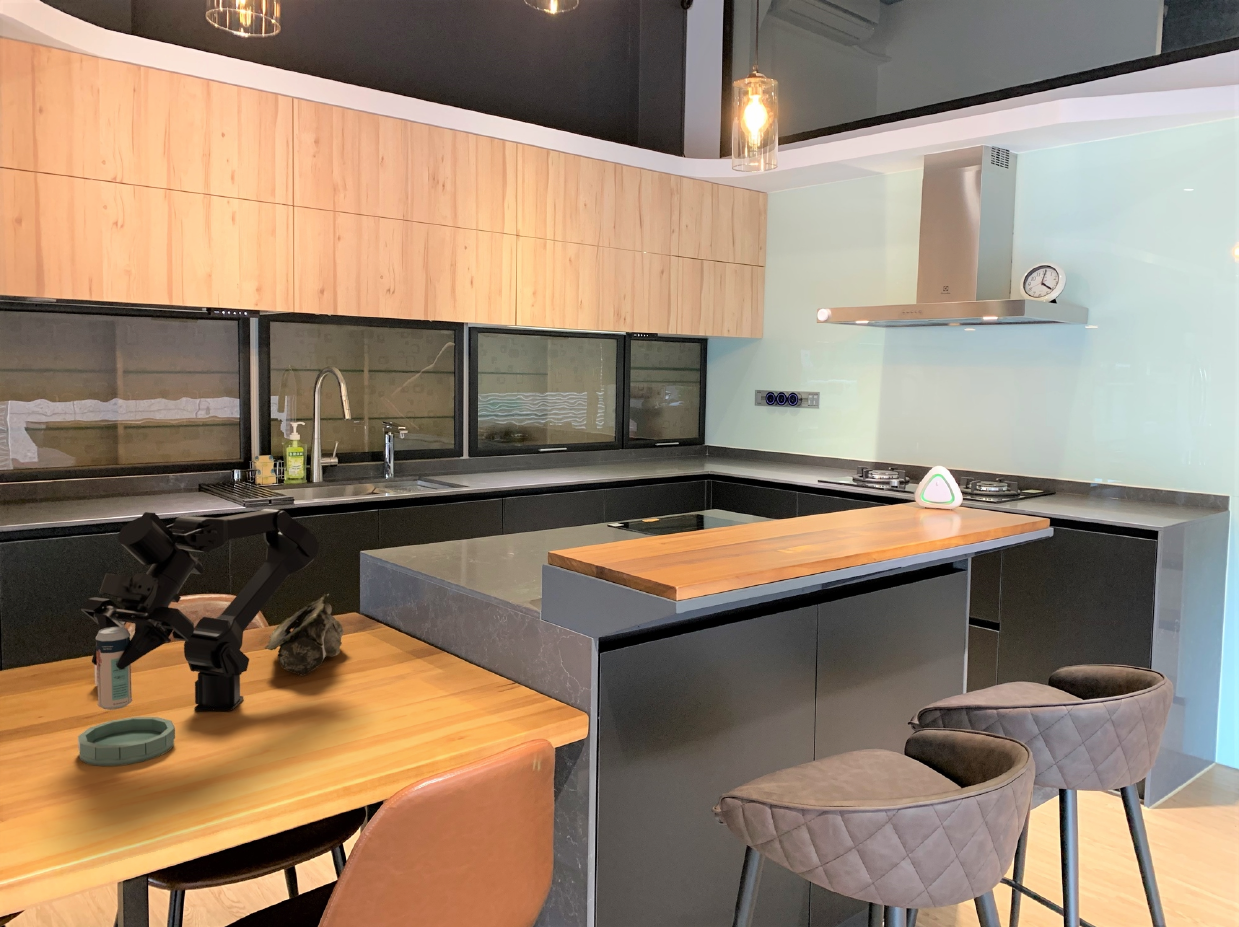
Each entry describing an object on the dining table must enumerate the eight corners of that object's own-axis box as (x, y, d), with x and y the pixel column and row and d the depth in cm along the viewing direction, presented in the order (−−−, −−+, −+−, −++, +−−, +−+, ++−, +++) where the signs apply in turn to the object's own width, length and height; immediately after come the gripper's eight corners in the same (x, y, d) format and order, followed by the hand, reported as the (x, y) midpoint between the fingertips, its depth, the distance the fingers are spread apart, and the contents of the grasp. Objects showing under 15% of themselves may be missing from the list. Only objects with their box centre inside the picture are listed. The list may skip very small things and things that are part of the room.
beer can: (111, 699, 148) (109, 625, 147) (139, 701, 147) (137, 627, 146) (90, 709, 143) (88, 633, 142) (118, 712, 143) (116, 635, 142)
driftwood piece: (296, 707, 179) (351, 652, 179) (245, 663, 177) (301, 607, 177) (323, 660, 207) (371, 612, 207) (280, 622, 205) (328, 573, 205)
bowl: (186, 733, 152) (186, 716, 152) (153, 765, 139) (152, 747, 139) (104, 733, 151) (103, 717, 151) (62, 766, 138) (61, 748, 138)
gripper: (89, 548, 150) (26, 631, 141) (178, 558, 144) (118, 646, 134) (132, 586, 158) (75, 668, 149) (217, 597, 152) (164, 683, 142)
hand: (106, 666), depth 143 cm, fingers closed on beer can, 5 cm apart
